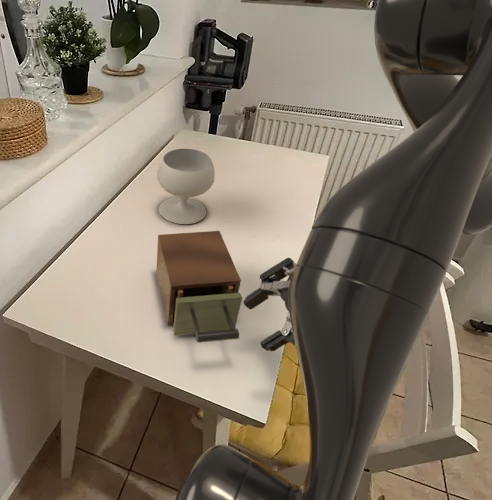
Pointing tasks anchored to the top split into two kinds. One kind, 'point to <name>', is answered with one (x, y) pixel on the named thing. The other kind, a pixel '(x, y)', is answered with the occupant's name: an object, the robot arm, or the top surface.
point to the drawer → (207, 312)
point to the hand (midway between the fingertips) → (254, 325)
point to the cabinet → (192, 265)
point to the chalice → (185, 184)
